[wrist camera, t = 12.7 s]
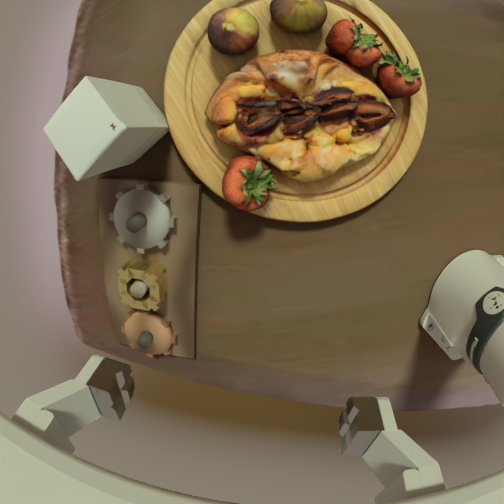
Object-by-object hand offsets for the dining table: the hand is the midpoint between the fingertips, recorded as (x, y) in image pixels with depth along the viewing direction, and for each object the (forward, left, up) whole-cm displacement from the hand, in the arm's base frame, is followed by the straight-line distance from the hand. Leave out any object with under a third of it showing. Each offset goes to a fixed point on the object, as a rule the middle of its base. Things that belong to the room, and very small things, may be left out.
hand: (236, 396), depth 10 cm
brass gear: (+2, +19, -27) cm, 33 cm away
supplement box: (+18, +6, -29) cm, 34 cm away
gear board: (+2, +19, -29) cm, 34 cm away
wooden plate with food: (+8, -12, -29) cm, 33 cm away
